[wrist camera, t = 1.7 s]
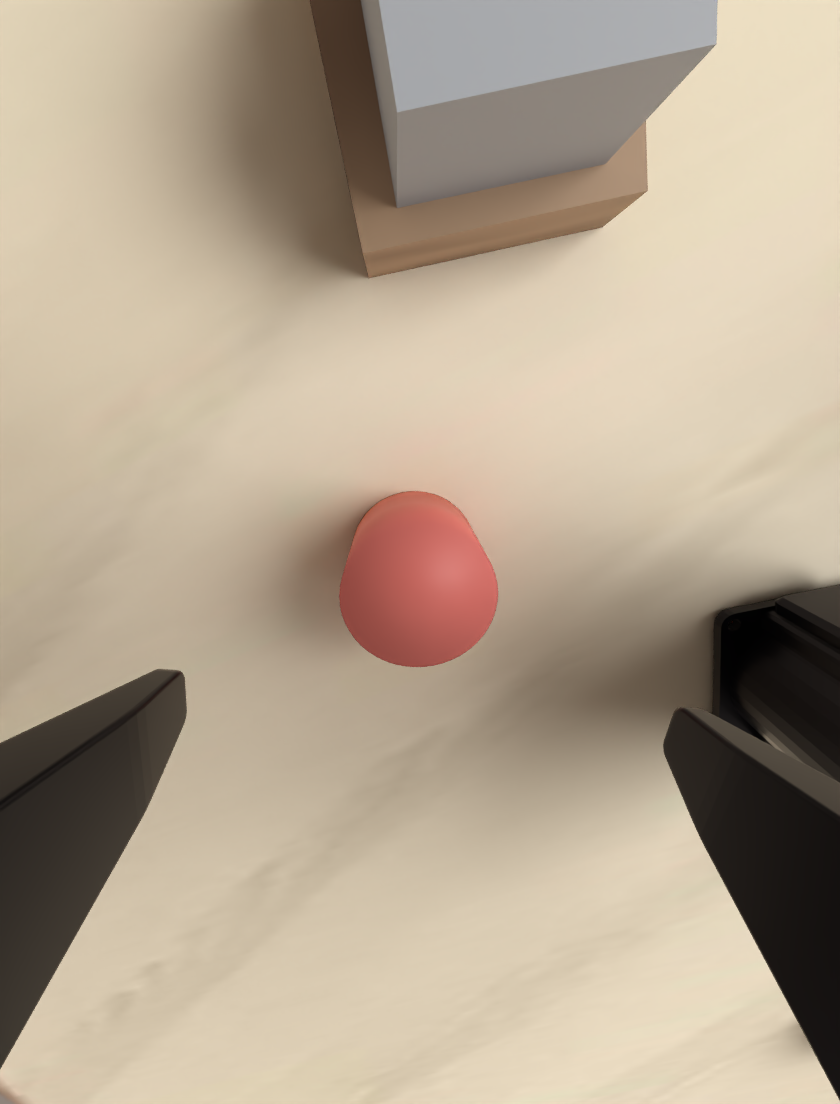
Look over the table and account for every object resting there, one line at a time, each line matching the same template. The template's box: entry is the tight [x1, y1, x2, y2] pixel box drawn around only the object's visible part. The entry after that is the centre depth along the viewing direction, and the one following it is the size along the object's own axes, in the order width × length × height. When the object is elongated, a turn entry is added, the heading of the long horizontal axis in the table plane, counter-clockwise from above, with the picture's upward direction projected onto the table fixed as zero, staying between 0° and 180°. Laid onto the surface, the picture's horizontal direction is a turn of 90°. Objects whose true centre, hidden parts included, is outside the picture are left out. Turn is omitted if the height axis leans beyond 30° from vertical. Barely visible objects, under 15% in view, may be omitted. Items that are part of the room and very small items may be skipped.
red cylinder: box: [339, 491, 498, 667], centre depth 15 cm, size 4×4×4 cm
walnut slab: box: [310, 0, 648, 278], centre depth 11 cm, size 7×7×3 cm
